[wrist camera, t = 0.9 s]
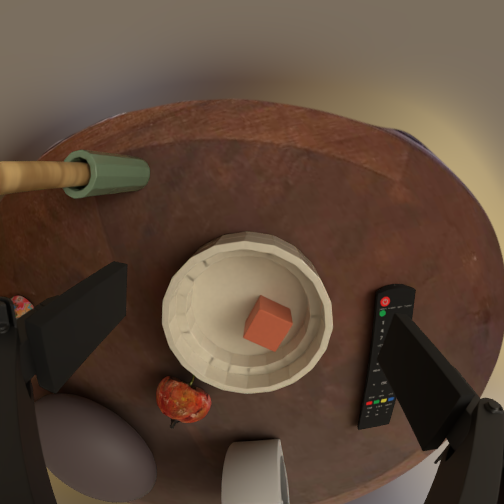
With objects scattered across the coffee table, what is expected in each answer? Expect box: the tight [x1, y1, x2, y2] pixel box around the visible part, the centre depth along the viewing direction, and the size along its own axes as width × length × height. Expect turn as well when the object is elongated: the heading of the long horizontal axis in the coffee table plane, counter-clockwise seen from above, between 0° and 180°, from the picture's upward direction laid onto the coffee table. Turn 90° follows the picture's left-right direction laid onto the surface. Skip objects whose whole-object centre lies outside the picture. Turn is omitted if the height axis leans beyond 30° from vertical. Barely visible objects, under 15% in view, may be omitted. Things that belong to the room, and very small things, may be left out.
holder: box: [63, 150, 150, 199], centre depth 27 cm, size 4×4×12 cm
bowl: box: [162, 231, 333, 394], centre depth 33 cm, size 18×18×6 cm
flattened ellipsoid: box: [34, 393, 157, 502], centre depth 36 cm, size 25×25×15 cm
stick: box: [0, 161, 91, 195], centre depth 17 cm, size 2×2×30 cm
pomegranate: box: [156, 375, 211, 429], centre depth 36 cm, size 7×7×10 cm
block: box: [243, 295, 293, 352], centre depth 33 cm, size 4×4×4 cm
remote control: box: [357, 284, 416, 430], centre depth 36 cm, size 5×24×1 cm, turn 4°
